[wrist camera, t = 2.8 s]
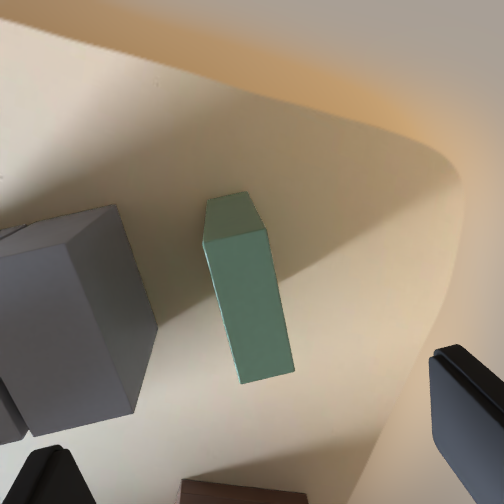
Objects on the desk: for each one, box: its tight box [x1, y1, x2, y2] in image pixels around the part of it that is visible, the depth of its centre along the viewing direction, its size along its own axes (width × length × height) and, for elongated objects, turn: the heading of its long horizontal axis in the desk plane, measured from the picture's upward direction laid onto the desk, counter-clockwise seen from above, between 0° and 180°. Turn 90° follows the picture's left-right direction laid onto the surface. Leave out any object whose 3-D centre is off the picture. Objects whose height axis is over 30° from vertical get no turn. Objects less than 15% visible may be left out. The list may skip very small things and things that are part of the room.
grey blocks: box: [0, 204, 158, 445], centre depth 20 cm, size 10×9×8 cm
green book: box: [202, 191, 295, 384], centre depth 20 cm, size 3×7×9 cm, turn 12°
